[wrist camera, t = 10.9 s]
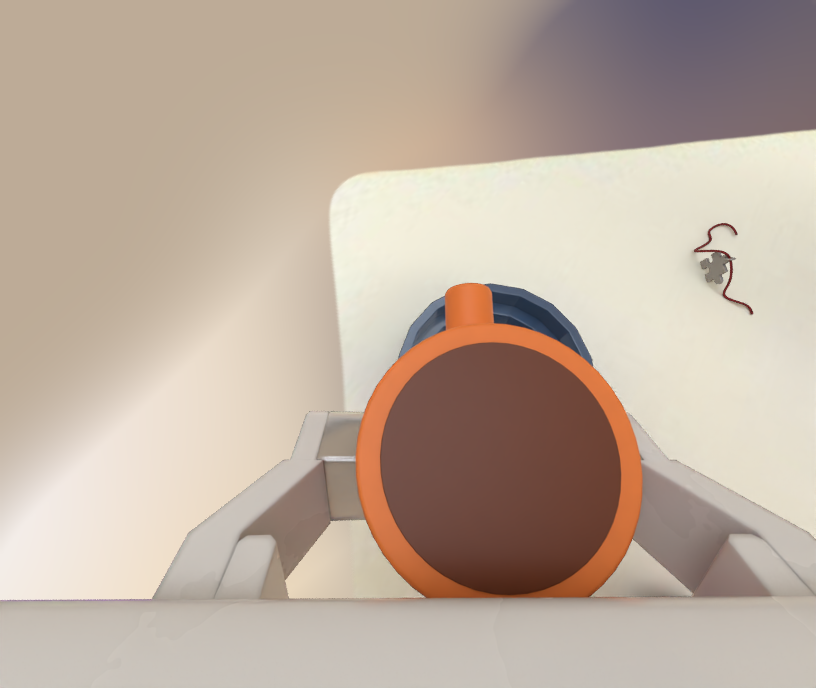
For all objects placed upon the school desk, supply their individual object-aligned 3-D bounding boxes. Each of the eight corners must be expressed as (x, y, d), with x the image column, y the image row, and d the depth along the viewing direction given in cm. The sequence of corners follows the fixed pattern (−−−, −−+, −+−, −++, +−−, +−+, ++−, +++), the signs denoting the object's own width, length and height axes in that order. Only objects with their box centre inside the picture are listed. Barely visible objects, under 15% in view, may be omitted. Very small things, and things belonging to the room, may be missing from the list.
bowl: (448, 279, 30) (455, 253, 26) (595, 357, 28) (625, 341, 25) (365, 415, 27) (359, 408, 23) (525, 512, 25) (546, 521, 21)
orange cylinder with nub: (514, 531, 13) (675, 627, 5) (378, 531, 13) (348, 629, 5) (501, 358, 15) (609, 246, 7) (382, 357, 15) (363, 243, 7)
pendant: (678, 228, 32) (702, 207, 29) (729, 223, 32) (758, 202, 29) (711, 318, 29) (741, 305, 27) (766, 313, 30) (800, 299, 27)
